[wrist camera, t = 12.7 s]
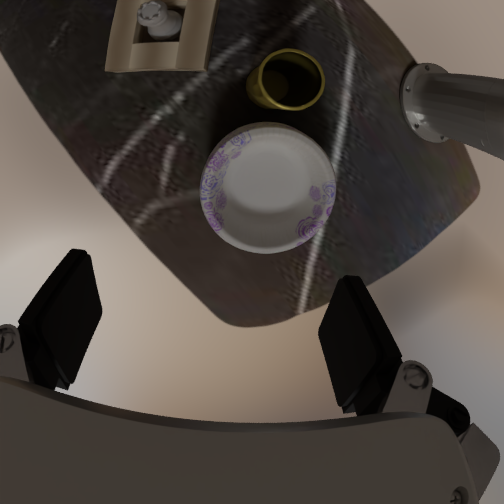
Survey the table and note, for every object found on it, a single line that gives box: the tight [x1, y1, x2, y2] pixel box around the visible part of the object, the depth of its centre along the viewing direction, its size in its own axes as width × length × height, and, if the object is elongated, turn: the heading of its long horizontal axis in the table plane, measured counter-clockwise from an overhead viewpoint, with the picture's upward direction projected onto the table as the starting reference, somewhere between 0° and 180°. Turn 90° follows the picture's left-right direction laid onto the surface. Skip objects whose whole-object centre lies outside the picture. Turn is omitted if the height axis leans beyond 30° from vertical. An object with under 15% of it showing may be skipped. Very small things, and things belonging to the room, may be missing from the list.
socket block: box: [105, 0, 220, 72], centre depth 23 cm, size 12×12×4 cm
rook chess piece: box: [137, 0, 183, 42], centre depth 21 cm, size 4×4×8 cm
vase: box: [246, 48, 325, 110], centre depth 24 cm, size 6×6×14 cm
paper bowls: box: [200, 122, 336, 253], centre depth 33 cm, size 15×15×8 cm
